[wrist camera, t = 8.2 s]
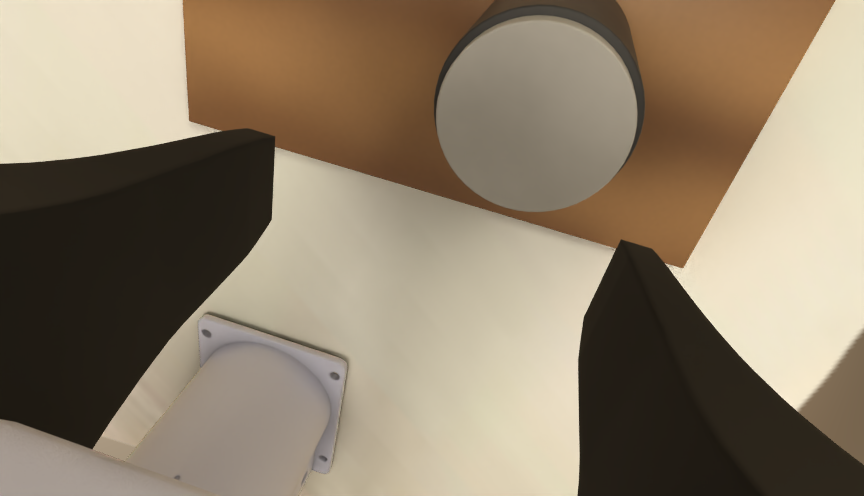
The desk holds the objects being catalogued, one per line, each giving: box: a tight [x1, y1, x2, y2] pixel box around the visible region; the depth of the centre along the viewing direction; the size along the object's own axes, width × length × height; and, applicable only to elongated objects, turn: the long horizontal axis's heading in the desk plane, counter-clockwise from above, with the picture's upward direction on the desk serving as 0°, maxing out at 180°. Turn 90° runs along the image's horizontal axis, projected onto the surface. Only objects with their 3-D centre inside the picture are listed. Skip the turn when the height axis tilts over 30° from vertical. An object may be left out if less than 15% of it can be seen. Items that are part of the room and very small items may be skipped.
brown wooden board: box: [183, 0, 835, 268], centre depth 19 cm, size 12×20×1 cm, turn 78°
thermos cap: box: [434, 0, 645, 212], centre depth 16 cm, size 5×5×6 cm
